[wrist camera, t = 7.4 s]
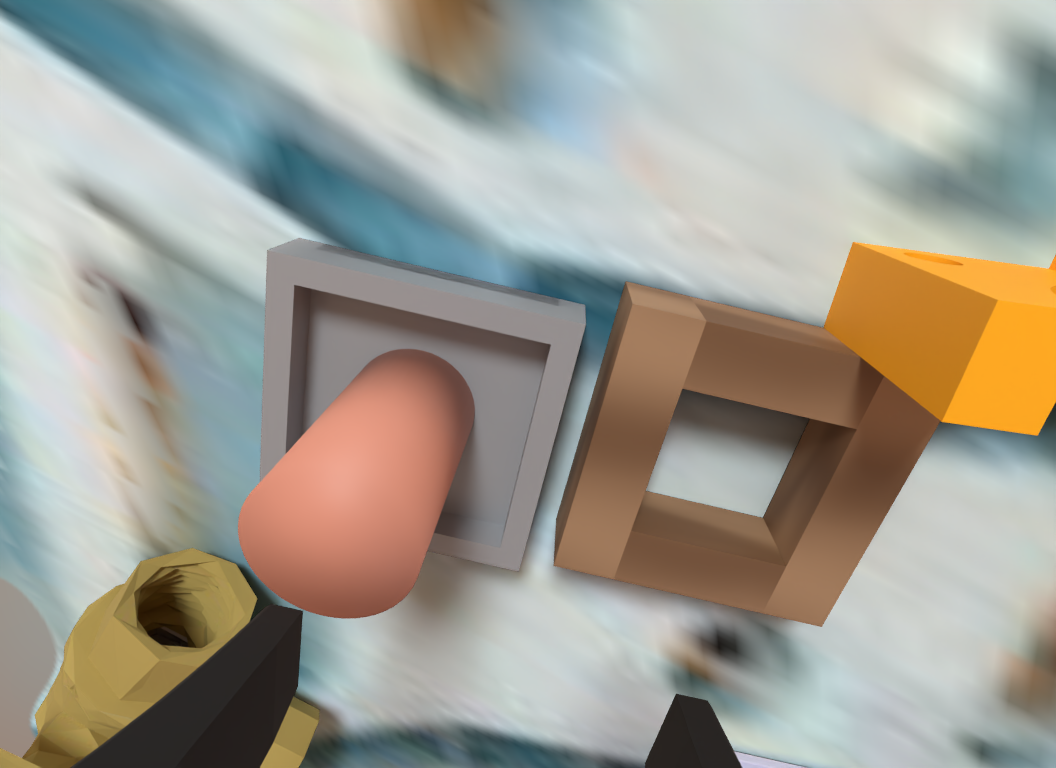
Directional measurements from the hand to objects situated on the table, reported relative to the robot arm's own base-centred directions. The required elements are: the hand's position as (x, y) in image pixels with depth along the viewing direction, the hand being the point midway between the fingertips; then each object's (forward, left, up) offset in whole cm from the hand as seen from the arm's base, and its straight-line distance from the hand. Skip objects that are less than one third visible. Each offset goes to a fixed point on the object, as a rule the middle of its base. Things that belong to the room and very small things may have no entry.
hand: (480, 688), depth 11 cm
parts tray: (+1, +4, -10) cm, 10 cm away
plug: (+1, +4, -9) cm, 10 cm away
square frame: (+2, -6, -10) cm, 12 cm away
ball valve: (-14, +11, -10) cm, 21 cm away
